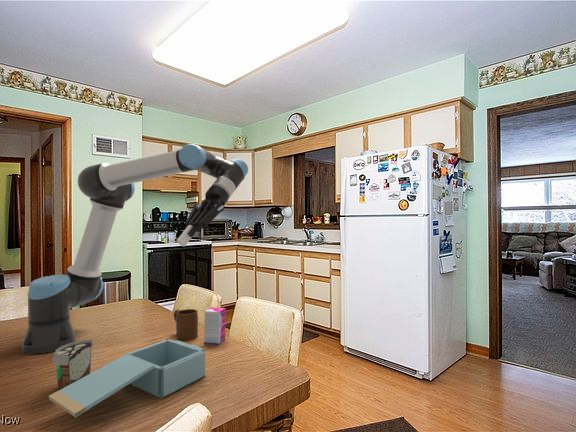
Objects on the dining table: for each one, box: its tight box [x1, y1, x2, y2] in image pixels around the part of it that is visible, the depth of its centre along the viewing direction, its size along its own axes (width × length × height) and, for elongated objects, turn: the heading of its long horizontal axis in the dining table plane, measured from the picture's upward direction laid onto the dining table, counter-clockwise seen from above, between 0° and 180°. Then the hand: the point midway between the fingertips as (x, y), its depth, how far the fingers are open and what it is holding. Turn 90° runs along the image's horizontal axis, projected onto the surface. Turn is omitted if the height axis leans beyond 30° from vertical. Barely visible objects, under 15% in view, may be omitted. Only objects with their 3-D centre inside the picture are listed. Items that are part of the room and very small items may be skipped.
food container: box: [52, 339, 94, 391], centre depth 87 cm, size 12×6×10 cm, turn 5°
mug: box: [173, 308, 199, 341], centre depth 124 cm, size 12×8×9 cm, turn 51°
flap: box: [48, 354, 154, 418], centre depth 77 cm, size 1×12×18 cm
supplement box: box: [203, 306, 227, 346], centre depth 118 cm, size 6×6×12 cm
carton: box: [124, 338, 206, 399], centre depth 91 cm, size 15×17×7 cm
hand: (180, 243), depth 102 cm, fingers closed
